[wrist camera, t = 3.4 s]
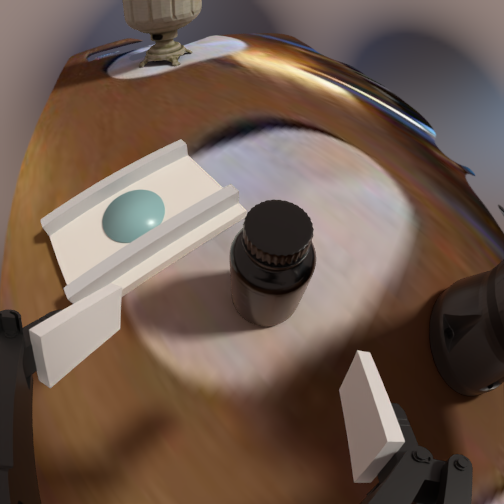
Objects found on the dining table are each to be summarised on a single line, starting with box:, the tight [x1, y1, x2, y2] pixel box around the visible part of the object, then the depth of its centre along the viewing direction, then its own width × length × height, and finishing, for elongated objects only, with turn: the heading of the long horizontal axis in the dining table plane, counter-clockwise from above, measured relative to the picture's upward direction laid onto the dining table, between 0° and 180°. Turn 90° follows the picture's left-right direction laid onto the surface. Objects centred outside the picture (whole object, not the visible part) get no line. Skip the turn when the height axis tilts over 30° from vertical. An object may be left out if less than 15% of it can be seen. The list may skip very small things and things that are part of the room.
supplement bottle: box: [230, 200, 316, 326], centre depth 25 cm, size 7×7×12 cm
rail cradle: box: [41, 140, 247, 304], centre depth 32 cm, size 22×16×3 cm
